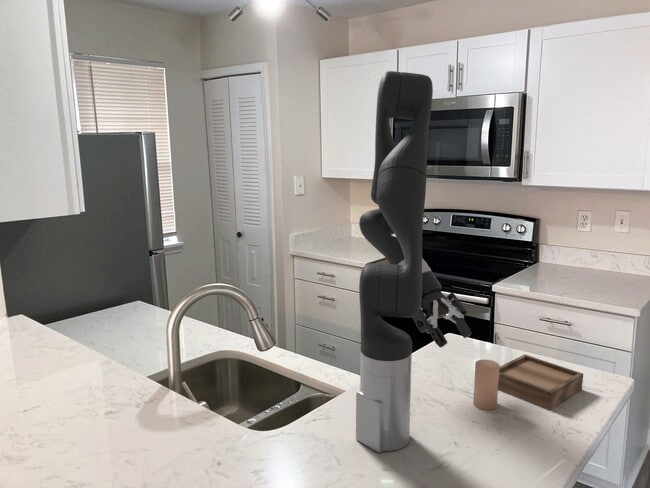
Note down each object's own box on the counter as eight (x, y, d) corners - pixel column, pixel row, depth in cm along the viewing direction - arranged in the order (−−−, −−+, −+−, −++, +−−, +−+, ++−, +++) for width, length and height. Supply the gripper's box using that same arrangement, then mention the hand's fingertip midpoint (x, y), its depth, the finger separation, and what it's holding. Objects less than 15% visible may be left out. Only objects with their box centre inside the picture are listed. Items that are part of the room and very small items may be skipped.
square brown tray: (550, 410, 109) (551, 393, 108) (490, 386, 120) (491, 370, 119) (581, 389, 118) (583, 373, 117) (523, 369, 129) (524, 354, 128)
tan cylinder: (488, 412, 108) (490, 371, 107) (468, 403, 112) (470, 363, 110) (501, 405, 111) (504, 364, 110) (481, 396, 115) (484, 357, 113)
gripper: (405, 275, 115) (446, 340, 108) (446, 265, 124) (486, 324, 117) (386, 293, 120) (425, 357, 113) (427, 282, 129) (465, 340, 122)
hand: (456, 340), depth 115 cm, fingers open, 8 cm apart
